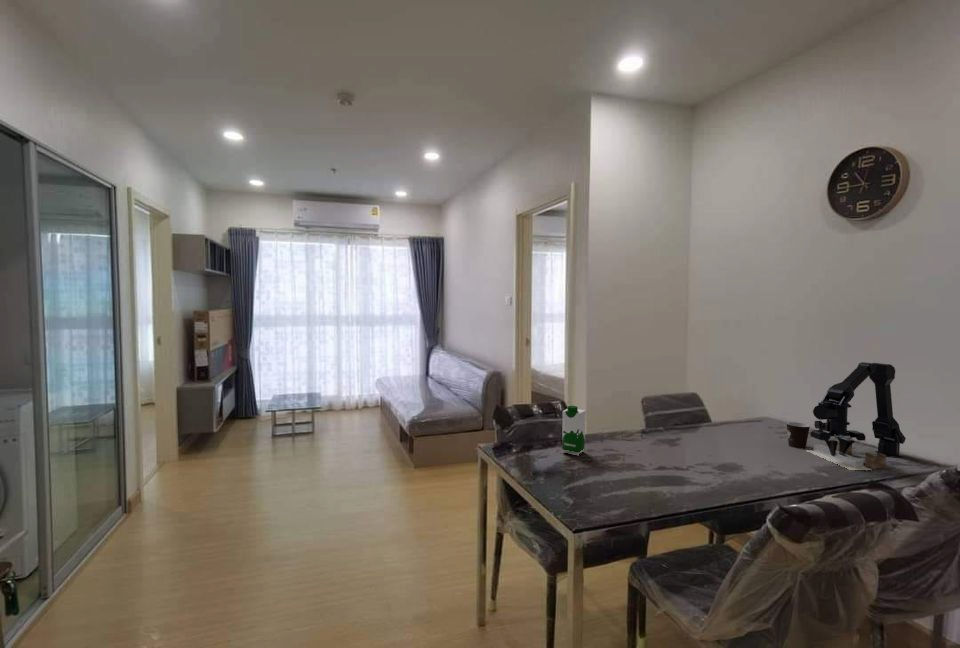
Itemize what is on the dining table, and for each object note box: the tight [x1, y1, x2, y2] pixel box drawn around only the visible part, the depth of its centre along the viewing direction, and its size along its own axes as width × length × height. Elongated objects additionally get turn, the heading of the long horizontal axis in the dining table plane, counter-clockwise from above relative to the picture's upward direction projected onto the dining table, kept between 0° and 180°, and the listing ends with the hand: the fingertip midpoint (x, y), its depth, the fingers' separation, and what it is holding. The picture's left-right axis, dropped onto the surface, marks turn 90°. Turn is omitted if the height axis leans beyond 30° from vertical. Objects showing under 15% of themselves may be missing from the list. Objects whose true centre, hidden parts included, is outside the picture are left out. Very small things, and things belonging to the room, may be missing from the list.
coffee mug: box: [786, 421, 811, 449], centre depth 208 cm, size 12×9×10 cm
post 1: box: [836, 441, 853, 456], centre depth 196 cm, size 6×3×5 cm, turn 91°
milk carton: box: [561, 405, 587, 452], centre depth 192 cm, size 9×9×20 cm
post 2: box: [864, 452, 887, 469], centre depth 180 cm, size 6×3×5 cm, turn 91°
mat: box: [805, 449, 872, 472], centre depth 188 cm, size 8×24×1 cm, turn 1°
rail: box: [813, 443, 864, 469], centre depth 188 cm, size 3×22×3 cm, turn 1°
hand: (836, 456), depth 188 cm, fingers closed on rail, 3 cm apart
